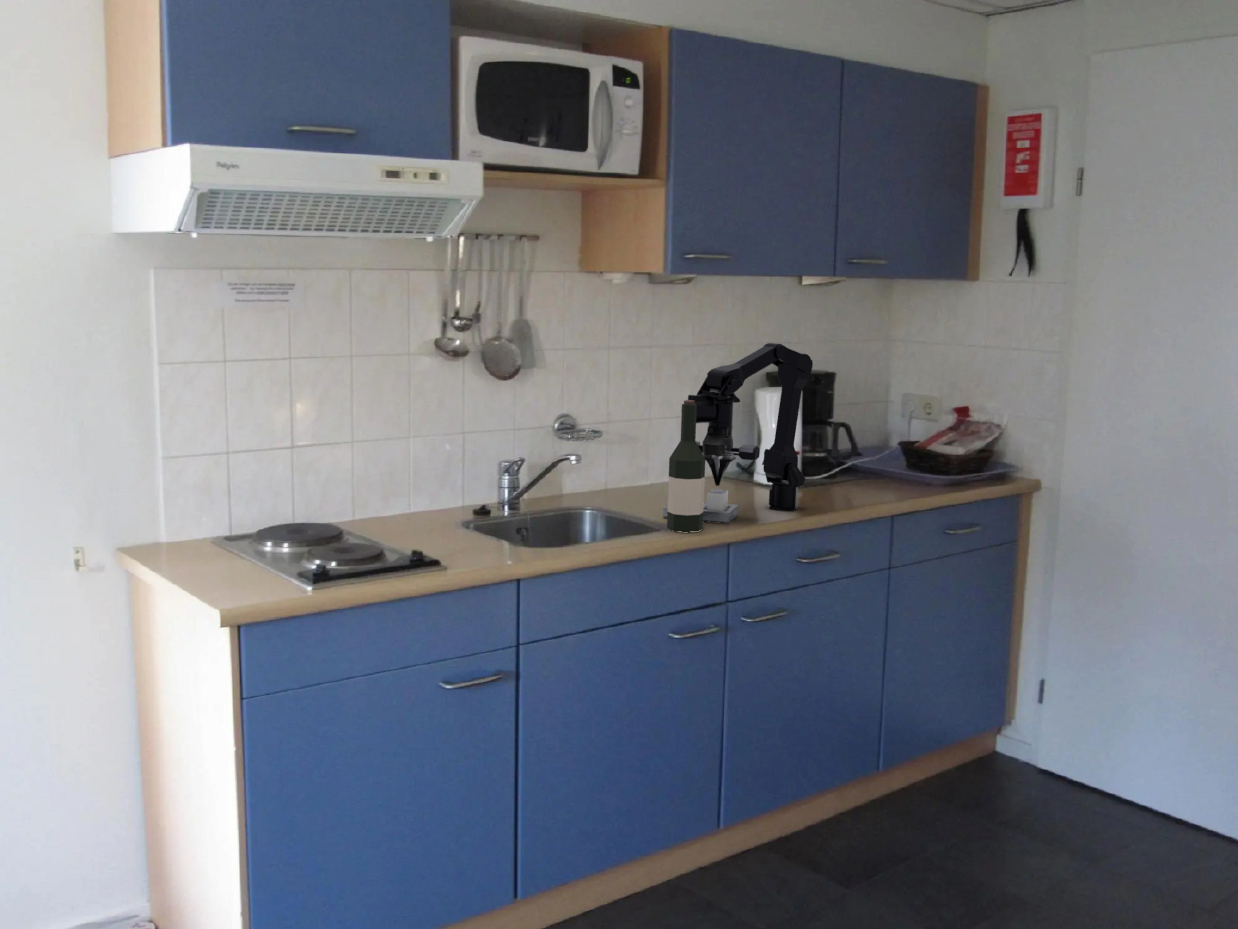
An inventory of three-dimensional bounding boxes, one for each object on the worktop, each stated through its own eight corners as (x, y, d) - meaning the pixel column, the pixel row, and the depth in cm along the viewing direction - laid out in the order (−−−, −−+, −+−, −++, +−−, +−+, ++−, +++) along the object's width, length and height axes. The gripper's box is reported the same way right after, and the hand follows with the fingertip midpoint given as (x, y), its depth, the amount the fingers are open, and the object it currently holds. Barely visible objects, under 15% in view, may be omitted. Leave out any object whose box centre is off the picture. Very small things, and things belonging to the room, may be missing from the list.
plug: (727, 515, 298) (728, 489, 297) (722, 518, 293) (723, 493, 292) (711, 513, 299) (712, 488, 298) (706, 517, 294) (707, 491, 293)
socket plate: (737, 515, 300) (738, 502, 300) (727, 524, 290) (728, 510, 289) (675, 509, 305) (675, 497, 304) (663, 518, 295) (663, 505, 294)
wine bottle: (687, 534, 277) (692, 403, 272) (659, 528, 282) (663, 400, 278) (710, 529, 283) (715, 401, 278) (682, 523, 289) (686, 397, 284)
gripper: (674, 422, 287) (671, 487, 290) (752, 428, 282) (749, 494, 284) (686, 417, 298) (683, 480, 300) (761, 422, 292) (758, 486, 295)
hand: (717, 485), depth 295 cm, fingers closed
